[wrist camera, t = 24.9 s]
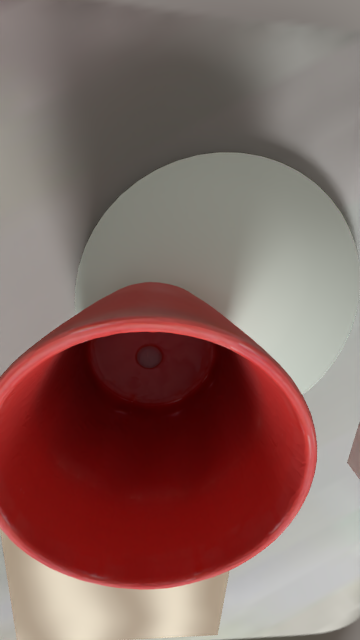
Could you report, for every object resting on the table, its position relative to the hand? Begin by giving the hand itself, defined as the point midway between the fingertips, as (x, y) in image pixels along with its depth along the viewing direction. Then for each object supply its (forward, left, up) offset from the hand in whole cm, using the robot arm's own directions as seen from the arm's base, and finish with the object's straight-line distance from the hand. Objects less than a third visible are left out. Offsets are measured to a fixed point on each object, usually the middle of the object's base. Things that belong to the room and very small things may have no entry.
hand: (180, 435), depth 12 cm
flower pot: (-1, -1, -9) cm, 9 cm away
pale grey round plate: (+3, +2, -9) cm, 10 cm away
